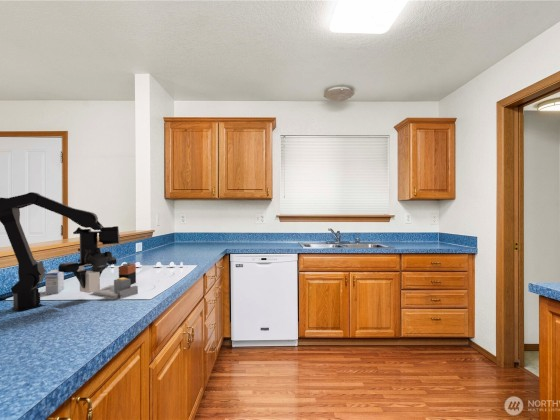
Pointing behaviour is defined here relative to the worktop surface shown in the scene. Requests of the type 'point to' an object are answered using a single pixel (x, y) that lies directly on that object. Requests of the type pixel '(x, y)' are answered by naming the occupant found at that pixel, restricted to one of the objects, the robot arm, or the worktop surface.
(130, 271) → the battery
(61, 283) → the medicine box
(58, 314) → the worktop surface
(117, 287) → the relay block
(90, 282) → the block
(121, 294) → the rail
